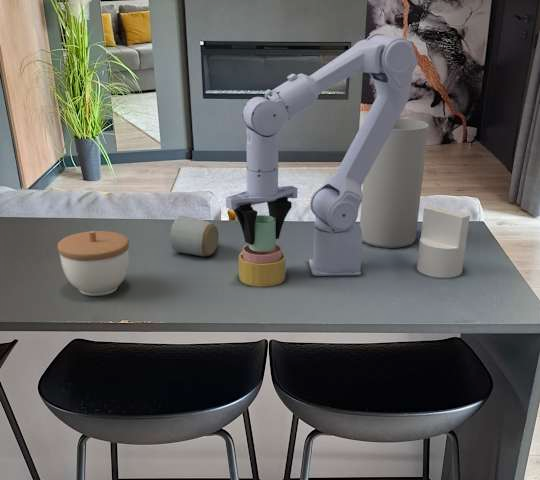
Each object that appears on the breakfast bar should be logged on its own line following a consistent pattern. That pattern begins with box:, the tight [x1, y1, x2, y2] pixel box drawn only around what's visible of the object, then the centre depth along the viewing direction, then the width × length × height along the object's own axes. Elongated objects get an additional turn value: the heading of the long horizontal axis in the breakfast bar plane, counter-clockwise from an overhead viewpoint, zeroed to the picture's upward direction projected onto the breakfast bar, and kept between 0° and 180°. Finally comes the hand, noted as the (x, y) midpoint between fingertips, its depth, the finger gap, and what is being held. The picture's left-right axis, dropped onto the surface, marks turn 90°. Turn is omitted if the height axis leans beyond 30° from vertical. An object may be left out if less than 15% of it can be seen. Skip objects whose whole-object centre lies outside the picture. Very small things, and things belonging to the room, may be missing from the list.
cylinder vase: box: [359, 117, 429, 249], centre depth 152 cm, size 12×12×25 cm
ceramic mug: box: [169, 215, 219, 257], centre depth 149 cm, size 11×8×8 cm
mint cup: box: [249, 214, 277, 252], centre depth 134 cm, size 5×5×6 cm
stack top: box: [242, 243, 283, 264], centre depth 137 cm, size 8×8×6 cm
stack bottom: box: [238, 251, 287, 288], centre depth 137 cm, size 9×9×4 cm
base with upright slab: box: [416, 204, 471, 279], centre depth 140 cm, size 9×9×12 cm
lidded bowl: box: [57, 230, 130, 297], centre depth 131 cm, size 13×13×11 cm
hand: (262, 240), depth 135 cm, fingers closed on mint cup, 5 cm apart
